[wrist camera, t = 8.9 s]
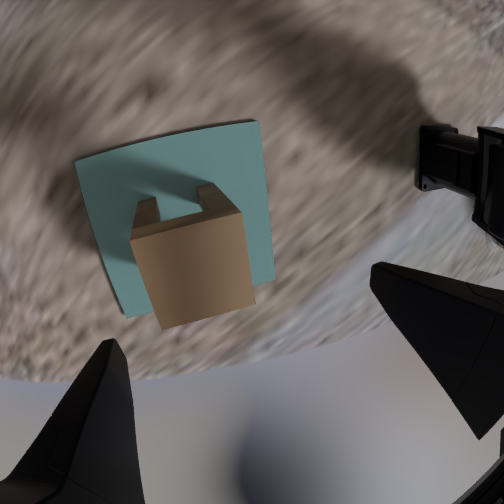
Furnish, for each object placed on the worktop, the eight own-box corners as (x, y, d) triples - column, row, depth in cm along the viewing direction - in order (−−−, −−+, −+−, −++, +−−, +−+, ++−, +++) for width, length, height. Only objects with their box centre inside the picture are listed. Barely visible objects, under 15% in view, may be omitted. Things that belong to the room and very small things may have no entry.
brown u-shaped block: (213, 182, 18) (242, 212, 13) (226, 251, 21) (255, 303, 15) (137, 201, 17) (129, 240, 12) (157, 269, 20) (161, 329, 14)
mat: (257, 121, 18) (259, 121, 17) (273, 277, 23) (275, 279, 23) (76, 161, 15) (74, 161, 15) (126, 315, 21) (126, 318, 20)
